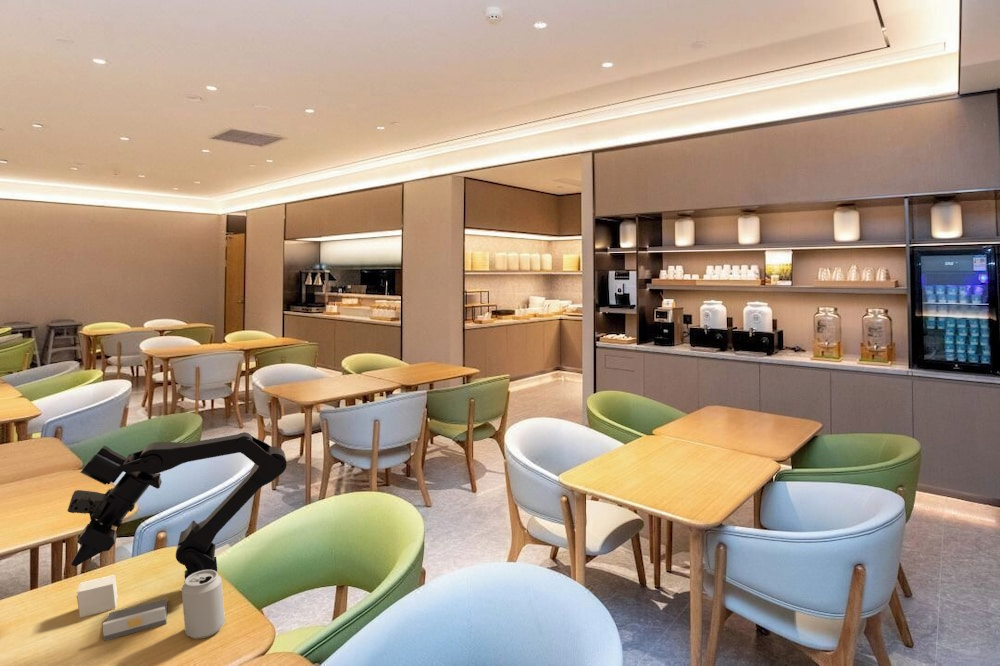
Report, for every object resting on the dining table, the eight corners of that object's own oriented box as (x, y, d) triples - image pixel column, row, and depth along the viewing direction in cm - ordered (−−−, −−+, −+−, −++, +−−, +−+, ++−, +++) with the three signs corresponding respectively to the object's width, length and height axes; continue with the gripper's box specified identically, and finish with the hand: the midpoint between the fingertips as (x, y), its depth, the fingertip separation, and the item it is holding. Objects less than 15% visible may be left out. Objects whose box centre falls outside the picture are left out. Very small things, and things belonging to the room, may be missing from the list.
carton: (117, 598, 132) (115, 574, 131) (115, 608, 128) (112, 583, 127) (82, 607, 129) (79, 582, 128) (79, 618, 125) (76, 592, 124)
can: (209, 643, 116) (204, 588, 114) (177, 639, 117) (172, 584, 116) (233, 620, 123) (228, 568, 121) (202, 616, 124) (198, 565, 123)
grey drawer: (167, 602, 130) (166, 588, 130) (165, 624, 122) (164, 609, 121) (109, 617, 125) (108, 602, 124) (104, 641, 117) (102, 625, 116)
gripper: (96, 462, 131) (48, 520, 129) (81, 495, 115) (27, 561, 113) (142, 484, 137) (98, 540, 134) (135, 518, 120) (84, 582, 118)
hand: (77, 554), depth 124 cm, fingers open, 9 cm apart
